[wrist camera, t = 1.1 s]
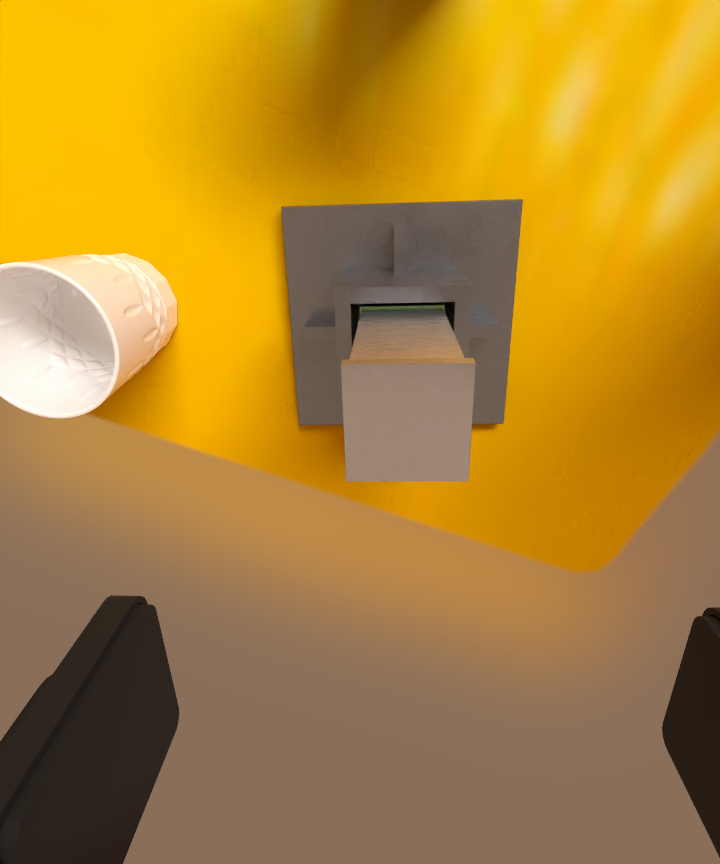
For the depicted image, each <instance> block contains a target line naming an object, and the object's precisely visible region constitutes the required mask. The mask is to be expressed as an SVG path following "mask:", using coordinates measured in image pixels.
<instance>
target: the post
mask: <svg viewBox="0 0 720 864" xmlns="http://www.w3.org/2000/svg"><path fill="white" fill-rule="evenodd" d="M444 310H445V305H444V303H443V302H419V303H367V304H360V318H359V322H358V327H357V331H356V335H355V339H354V343H353V347H352V351H351V355H350V359H349V360H342V362H341V379H342V401H343V423H344V445H345V467H346V481H469V464H470V448H471V431H472V415H473V398H474V382H475V365H476V363H475V361H474V359H473V358H465V357H464V355H463V353H462V351H461V348H460V346H459V344H458V341H457V339H456V337H455V335H454V332H453V330H452V328H451V325H450V323H449V321H448V318H447V316H446V314H445V312H444Z"/></svg>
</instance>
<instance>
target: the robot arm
mask: <svg viewBox="0 0 720 864" xmlns="http://www.w3.org/2000/svg"><path fill="white" fill-rule="evenodd" d="M178 719H179V707H178V703H177V698H176V694H175V689H174V685H173V681H172V677H171V672H170V669H169V664H168V659H167V655H166V651H165V647H164V642H163V638H162V633H161V629H160V625H159V620H158V616H157V612H156V609H155V607H154V606H153V605H148V604H147V601H146V599H145V598H144V597H142V596H109V597H108V598H107V599H106V600H105V601H104V602H103V603H102V605H101V606H100V608H99V609H98V610H97V612H96V614H95V615H94V616H93V618H92V619H91V620H90V622H89V623H88V625H87V626H86V628H85V629H84V631H83V632H82V633H81V635H80V636H79V637H78V639H77V641H76V642H75V643H74V645H73V646H72V647H71V649H70V650H69V652H68V653H67V655H66V656H65V658H64V659H63V661H62V662H61V663H60V665H59V666H58V667H57V669H56V671H55V672H54V673H53V674H52V675H51V676H49V677H48V678H46V680H45V681H44V682H43V683H42V684H41V685H40V686H39V688H38V689H37V691H36V692H35V693H34V695H33V696H32V698H31V699H30V701H29V702H28V703H27V705H26V706H25V708H24V709H23V710H22V712H21V713H20V714H19V716H18V717H17V719H16V720H15V722H14V723H13V724H12V726H11V727H10V729H9V730H8V732H7V733H6V734H5V736H4V737H3V739H2V740H1V741H0V864H123V862H124V859H125V857H126V854H127V852H128V849H129V847H130V844H131V842H132V839H133V837H134V834H135V832H136V829H137V827H138V824H139V821H140V819H141V817H142V814H143V812H144V809H145V807H146V804H147V802H148V799H149V797H150V794H151V792H152V789H153V787H154V784H155V782H156V779H157V777H158V774H159V772H160V769H161V766H162V764H163V762H164V759H165V757H166V754H167V752H168V749H169V747H170V744H171V742H172V739H173V737H174V734H175V732H176V729H177V725H178ZM662 729H663V730H662V732H663V739H664V742H665V745H666V748H667V750H668V752H669V754H670V756H671V758H672V761H673V763H674V765H675V767H676V769H677V771H678V773H679V775H680V777H681V779H682V781H683V783H684V785H685V787H686V789H687V791H688V793H689V795H690V798H691V800H692V802H693V804H694V806H695V808H696V810H697V812H698V814H699V816H700V818H701V820H702V822H703V824H704V826H705V828H706V830H707V832H708V834H709V836H710V838H711V840H712V843H713V845H714V847H715V849H716V851H717V853H718V855H719V857H720V608H707V609H706V610H705V611H704V613H703V615H702V616H699V617H696V618H695V619H694V621H693V624H692V627H691V631H690V634H689V637H688V641H687V644H686V648H685V651H684V654H683V658H682V661H681V664H680V668H679V671H678V674H677V678H676V681H675V684H674V688H673V691H672V695H671V698H670V701H669V705H668V708H667V711H666V715H665V718H664V721H663V726H662Z"/></svg>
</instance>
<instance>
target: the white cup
mask: <svg viewBox="0 0 720 864" xmlns="http://www.w3.org/2000/svg"><path fill="white" fill-rule="evenodd" d="M176 326H177V301H176V298H175V296H174V294H173V292H172V290H171V288H170V285H169V283H168V281H167V279H166V278H165V277H164V276H163V275H162V274H161V273H159V272H158V271H157V270H156V269H155V268H154V267H153V266H152V265H151V264H150V263H149V262H147V261H145V260H142V259H139V258H137V257H134V256H132V255H129V254H126V253H119V254H108V255H97V254H88V255H73V256H65V257H57V258H48V259H40V260H31V261H23V262H14V263H7V264H2V265H0V397H2V398H3V399H5V400H6V401H7V402H9V403H10V404H12V405H14V406H16V407H17V408H19V409H21V410H24V411H26V412H28V413H31V414H34V415H38V416H42V417H47V418H57V419H58V418H59V419H62V418H72V417H77V416H81V415H84V414H86V413H88V412H90V411H92V410H94V409H95V408H97V407H98V406H99V405H101V404H102V403H103V402H104V401H105V400H106V399H107V398H109V397H110V396H111V395H112V394H113V393H114V392H115V391H116V390H118V389H119V388H120V387H121V386H122V385H123V384H125V383H126V382H127V381H128V380H129V379H131V378H132V377H133V376H134V375H135V374H136V373H137V372H139V371H140V370H141V368H142V367H143V366H145V365H146V364H147V363H148V362H149V361H150V360H151V359H152V358H153V357H154V355H155V354H156V353H157V352H158V351H159V350H160V349H161V348H163V347H164V346H165V345H166V344H167V343H168V342H169V340H170V338H171V336H172V334H173V332H174V330H175V328H176Z"/></svg>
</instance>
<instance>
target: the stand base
mask: <svg viewBox="0 0 720 864" xmlns="http://www.w3.org/2000/svg"><path fill="white" fill-rule="evenodd" d="M522 202H523V200H521V199H513V200H481V201H448V202H415V203H382V204H349V205H316V206H284V207H281V209H282V221H283V233H284V245H285V257H286V270H287V282H288V294H289V306H290V318H291V331H292V343H293V355H294V367H295V380H296V392H297V404H298V416H299V425H344V423H343V401H342V379H341V362H342V360H349V359H350V355H351V351H352V347H353V343H354V339H355V335H356V331H357V327H358V322H359V318H360V304H367V303H419V302H443V303H444V305H445V310H444V312H445V314H446V316H447V318H448V321H449V323H450V325H451V328H452V330H453V332H454V335H455V337H456V339H457V341H458V344H459V346H460V348H461V351H462V353H463V355H464V357H465V358H473V359H474V361H475V363H476V365H475V382H474V398H473V415H472V424H503V422H504V410H505V399H506V387H507V376H508V364H509V352H510V341H511V329H512V318H513V306H514V294H515V283H516V271H517V260H518V248H519V237H520V225H521V213H522Z"/></svg>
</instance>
